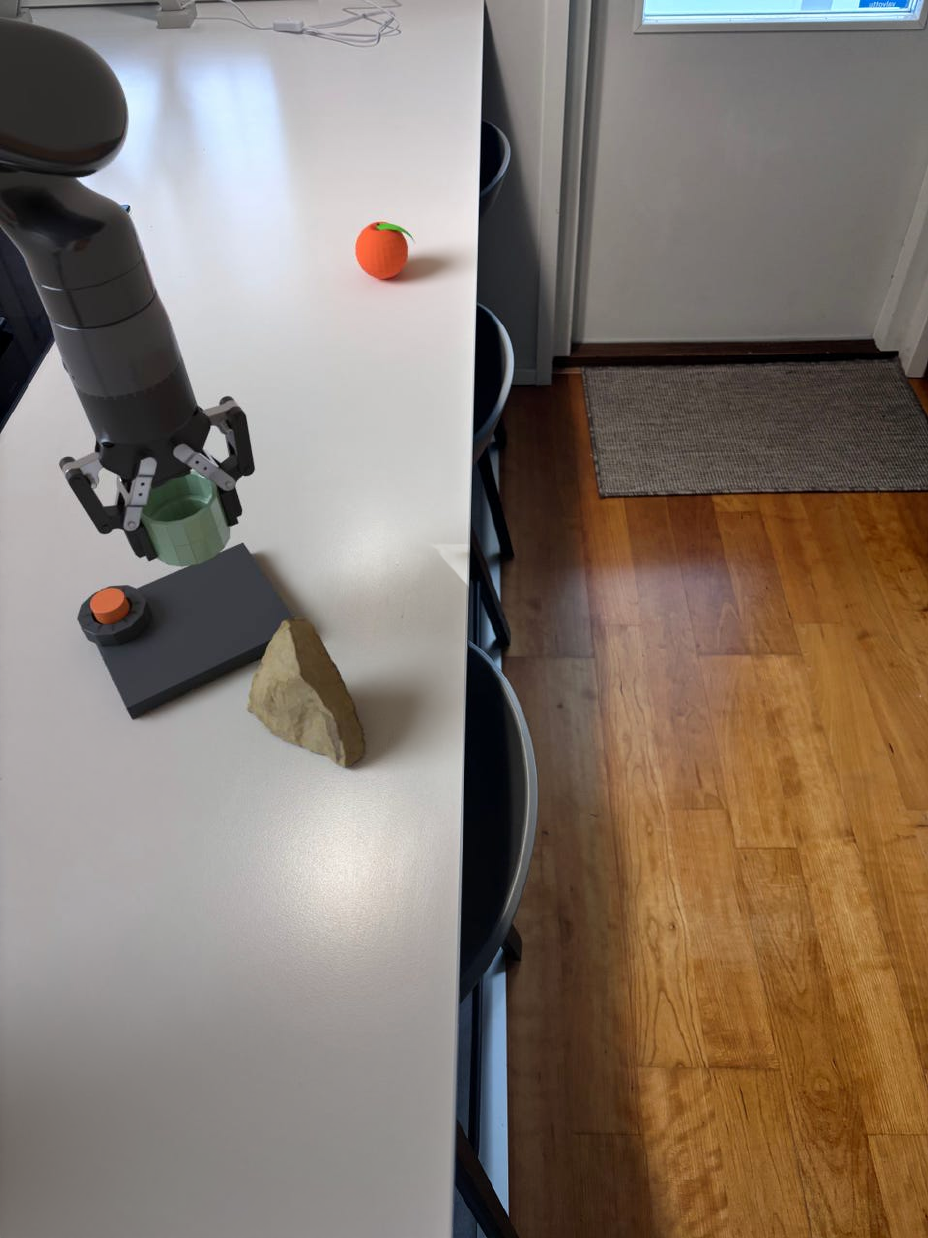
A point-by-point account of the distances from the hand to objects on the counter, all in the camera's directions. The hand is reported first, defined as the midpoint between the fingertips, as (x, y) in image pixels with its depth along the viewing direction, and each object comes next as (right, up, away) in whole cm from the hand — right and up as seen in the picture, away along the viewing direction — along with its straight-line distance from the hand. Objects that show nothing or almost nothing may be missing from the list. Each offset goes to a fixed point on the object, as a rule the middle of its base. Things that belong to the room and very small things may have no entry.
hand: (190, 536), depth 77 cm
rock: (+10, -16, +1) cm, 19 cm away
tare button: (-9, -6, +7) cm, 13 cm away
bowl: (0, 0, +1) cm, 1 cm away
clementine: (+12, +39, +49) cm, 64 cm away
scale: (-2, -8, +9) cm, 12 cm away
